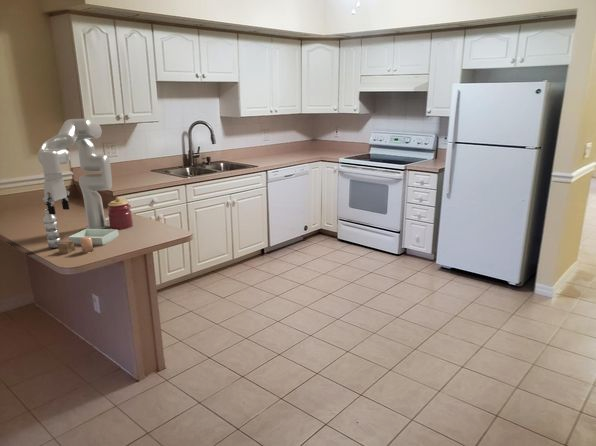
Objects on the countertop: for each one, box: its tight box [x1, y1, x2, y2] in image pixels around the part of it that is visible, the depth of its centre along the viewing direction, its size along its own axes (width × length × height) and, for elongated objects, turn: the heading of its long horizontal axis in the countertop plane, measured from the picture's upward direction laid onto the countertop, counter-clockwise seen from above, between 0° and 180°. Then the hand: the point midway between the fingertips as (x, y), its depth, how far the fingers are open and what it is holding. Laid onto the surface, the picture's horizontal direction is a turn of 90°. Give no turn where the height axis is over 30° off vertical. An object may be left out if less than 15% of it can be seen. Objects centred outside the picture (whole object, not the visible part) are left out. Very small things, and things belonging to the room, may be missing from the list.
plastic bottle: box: [42, 208, 62, 249], centre depth 236 cm, size 6×7×20 cm
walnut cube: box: [57, 240, 76, 254], centre depth 230 cm, size 5×5×5 cm
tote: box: [67, 228, 120, 246], centre depth 247 cm, size 15×20×4 cm
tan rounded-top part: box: [80, 237, 94, 254], centre depth 229 cm, size 5×5×7 cm
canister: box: [106, 196, 134, 230], centre depth 269 cm, size 13×13×18 cm
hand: (59, 211), depth 225 cm, fingers open, 9 cm apart
